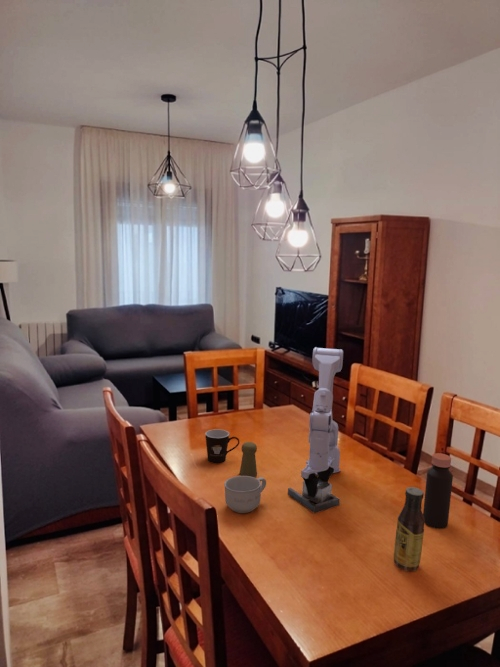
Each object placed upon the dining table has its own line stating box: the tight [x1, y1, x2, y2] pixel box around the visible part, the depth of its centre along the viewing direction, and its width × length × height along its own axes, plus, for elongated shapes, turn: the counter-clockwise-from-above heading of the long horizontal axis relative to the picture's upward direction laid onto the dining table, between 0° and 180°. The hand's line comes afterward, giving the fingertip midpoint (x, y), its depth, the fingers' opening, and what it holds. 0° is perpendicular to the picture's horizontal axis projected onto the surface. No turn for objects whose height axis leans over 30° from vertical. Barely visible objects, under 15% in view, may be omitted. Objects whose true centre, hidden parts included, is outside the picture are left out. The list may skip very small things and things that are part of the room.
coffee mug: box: [204, 428, 240, 465], centre depth 175 cm, size 12×9×10 cm
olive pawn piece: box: [239, 441, 258, 478], centre depth 165 cm, size 6×6×11 cm
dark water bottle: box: [422, 452, 454, 530], centre depth 137 cm, size 7×7×20 cm
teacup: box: [223, 475, 267, 514], centre depth 144 cm, size 14×11×8 cm
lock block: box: [301, 479, 333, 504], centre depth 148 cm, size 5×7×5 cm
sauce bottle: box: [393, 486, 425, 573], centre depth 117 cm, size 6×6×20 cm
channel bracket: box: [287, 487, 341, 514], centre depth 149 cm, size 10×13×2 cm
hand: (316, 492), depth 148 cm, fingers closed on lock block, 5 cm apart
